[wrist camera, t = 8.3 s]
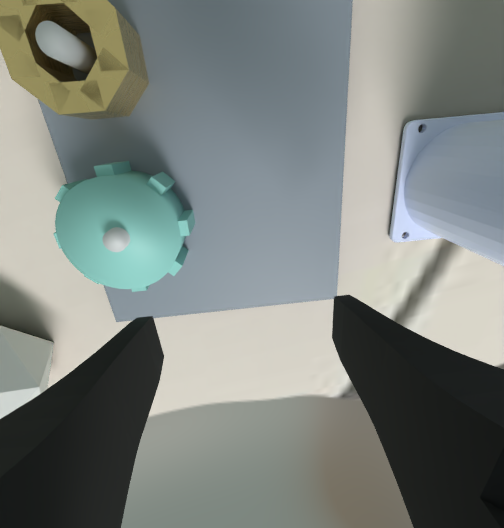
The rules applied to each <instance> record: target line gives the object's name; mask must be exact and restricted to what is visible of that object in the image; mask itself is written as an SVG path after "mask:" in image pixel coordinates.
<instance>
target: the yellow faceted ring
mask: <svg viewBox="0 0 504 528" xmlns="http://www.w3.org/2000/svg"><path fill="white" fill-rule="evenodd" d="M43 21H52V22H54V23H56V24H57V25H59V26H60V27H62V28H64V29H65V30H67V31H68V32H70V33H71V34H73V35H74V36H77V34H78V33H91V35H92V39H93V43H94V46H95V50H96V54H97V60H96V61H95V63H94V65H93V67H92V69H91V71H90V73H89V74H88V76H87V78H86V80H85V81H78V80H76V79H75V77H74V73H73V70H72V67H71V66H69V65H67V64H64V63H62V62H60V61H58V60H56V59H53V58H51V57H49V56H47V55H46V54H45V53H44V52H43V51H42V50H41V49H40V47H39V46H38V43H37V41H36V35H35V33H36V28H37V26H38V25H39V24H40V23H41V22H43ZM0 49H1V52H2V54H3V57H4V60H5V62H6V65H7V68H8V70H9V73H10V76H11V78H12V80H14V81H15V82H16V83H18V84H19V85H20V86H22V87H23V88H24V89H26V90H27V91H28V92H30V93H31V94H32V95H34V96H35V97H36V98H38V99H39V100H40V101H42V102H43V103H44V104H46V105H47V106H48V107H49V108H51V109H52V110H53V111H55V112H56V113H57V114H59V115H65V116H71V117H78V118H85V119H104V118H116V117H128V116H130V114H131V113H132V111H133V109H134V108H135V106H136V104H137V103H138V101H139V100H140V98H141V96H142V95H143V93H144V91H145V90H146V88H147V86H148V85H149V80H148V74H147V69H146V64H145V59H144V54H143V49H142V44H141V39H140V35H139V34H138V33H137V32H136V31H135V30H134V28H133V27H132V26H131V25H130V24H129V23H128V22H127V20H126V19H125V18H124V17H123V16H122V15H121V14H120V13H119V11H118V10H117V9H116V8H115V7H114V6H113V5H112V4H111V3H110V2H109V1H108V0H0Z"/></svg>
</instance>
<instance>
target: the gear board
mask: <svg viewBox="0 0 504 528" xmlns="http://www.w3.org/2000/svg"><path fill="white" fill-rule="evenodd" d="M108 1H109V2H110V3H111V4H112V5H113V6H114V7H115V8H116V9H117V10H118V11H119V13H120V14H121V15H122V16H123V17H124V18H125V19H126V20H127V22H128V23H129V24H130V25H131V26H132V27H133V28H134V30H135V31H136V32H137V33H138V34H139V35H140V39H141V44H142V49H143V54H144V59H145V64H146V69H147V74H148V80H149V85H148V86H147V88H146V90H145V91H144V93H143V95H142V96H141V98H140V100H139V101H138V103H137V104H136V106H135V108H134V109H133V111H132V113H131V114H130V116H128V117H116V118H104V119H85V118H78V117H71V116H65V115H59V114H57V113H56V112H55V111H53V110H52V109H51V108H49V107H48V106H47V105H46V104H44V103H43V102H42V101H40V100H39V99H38V101H39V104H40V106H41V109H42V112H43V115H44V118H45V121H46V123H47V126H48V129H49V132H50V135H51V138H52V140H53V143H54V146H55V149H56V152H57V155H58V157H59V160H60V163H61V166H62V169H63V172H64V174H65V177H66V180H67V183H68V184H65V185H62V187H61V189H60V190H59V192H58V194H57V196H56V197H55V199H56V200H58V201H59V202H60V204H59V206H58V210H57V213H56V220H55V225H56V232H55V233H54V236H55V238H56V241H57V243H58V246H59V248H62V250H63V252H64V254H65V255H66V257H67V258H68V259H69V261H70V262H71V263H72V264H73V265H74V266H75V267H76V268H77V269H78V270H79V271H80V272H81V273H83V274H84V276H85V277H87V278H88V279H90V280H92V281H94V282H95V283H97V284H99V283H100V284H103V285H104V288H105V291H106V294H107V296H108V299H109V302H110V305H111V308H112V311H113V313H114V316H115V319H116V322H121V321H130V320H134V319H136V318H138V317H147V316H153V318H159V317H168V316H177V315H187V314H196V313H205V312H215V311H224V310H233V309H243V308H252V307H262V306H271V305H280V304H290V303H299V302H308V301H318V300H327V299H334V297H335V296H337V284H338V265H339V246H340V227H341V208H342V190H343V171H344V152H345V133H346V114H347V95H348V77H349V58H350V39H351V20H352V1H353V0H108ZM35 35H36V41H37V43H38V46H39V47H40V49H41V50H42V51H43V52H44V53H45V54H46V55H47V56H49V57H51V58H53V59H56V60H58V61H60V62H62V63H64V64H67V65H69V66H71V67H72V70H73V73H74V77H75V79H76V80H78V81H85V80H86V78H87V76H88V74H89V73H90V71H91V69H92V67H93V65H94V63H95V61H96V60H97V54H96V50H95V46H94V43H93V39H92V35H91V33H78V34H77V36H74V35H73V34H71V33H70V32H68V31H67V30H65V29H64V28H62V27H60V26H59V25H57V24H56V23H54V22H52V21H43V22H41V23H40V24H39V25H38V26H37V28H36V33H35Z"/></svg>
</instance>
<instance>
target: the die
mask: <svg viewBox="0 0 504 528" xmlns="http://www.w3.org/2000/svg"><path fill="white" fill-rule="evenodd" d="M53 345H54V342H51V341H48V340H45V339H42V338H38V337H35V336H32V335H29V334H26V333H22V332H19V331H16V330H13V329H10V328H7V327H3V326H0V419H1V418H3V417H4V416H6V415H7V414H9V413H11V412H12V411H14V410H16V409H17V408H19V407H20V406H22V405H24V404H25V403H27V402H29V401H30V400H32V399H33V398H35V397H36V396H38V395H39V394H41V393H42V392H44V391H45V390H47V388H48V381H49V374H50V367H51V360H52V353H53Z"/></svg>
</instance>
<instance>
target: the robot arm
mask: <svg viewBox="0 0 504 528" xmlns="http://www.w3.org/2000/svg"><path fill="white" fill-rule="evenodd" d="M420 125H422V127H423V128H422V131H421V132H420V133H419V131H418V128H419V126H420ZM404 232H406V235H405V236H404V237H402V234H403V233H404ZM435 238H444V239H446V240H448V241H450V242H453V243H455V244H457V245H459V246H461V247H463V248H465V249H468V250H470V251H472V252H474V253H476V254H478V255H481V256H483V257H485V258H487V259H489V260H491V261H493V262H496V263H498V264H500V265H502V266H504V112H498V113H487V114H476V115H465V116H454V117H443V118H432V119H421V120H412V121H409V122H408V123H407V124H406V125H405V126H404V130H403V137H402V144H401V152H400V160H399V167H398V175H397V182H396V190H395V197H394V205H393V213H392V220H391V228H390V239H391V240H392V241H394V242H406V241H416V240H425V239H435ZM332 338H333V341H334V344H335V347H336V350H337V352H338V355H339V358H340V360H341V362H342V364H343V366H344V368H345V370H346V372H347V374H348V376H349V378H350V380H351V381H352V383H353V385H354V387H355V389H356V391H357V393H358V395H359V397H360V398H361V400H362V402H363V404H364V406H365V408H366V410H367V412H368V414H369V416H370V418H371V420H372V422H373V424H374V426H375V429H376V431H377V434H378V436H379V438H380V441H381V443H382V446H383V448H384V451H385V453H386V456H387V458H388V460H389V463H390V466H391V468H392V471H393V473H394V476H395V479H396V481H397V484H398V486H399V489H400V492H401V494H402V497H403V500H404V503H405V505H406V508H407V510H408V513H409V516H410V519H411V522H412V524H413V527H414V528H504V369H500V368H498V367H495V366H492V365H489V364H487V363H484V362H481V361H479V360H476V359H473V358H470V357H468V356H465V355H463V354H460V353H458V352H455V351H453V350H451V349H449V348H446V347H444V346H442V345H440V344H437V343H435V342H433V341H431V340H429V339H427V338H425V337H422V336H421V335H419V334H417V333H415V332H413V331H411V330H409V329H407V328H405V327H403V326H402V325H400V324H398V323H396V322H394V321H393V320H391V319H389V318H388V317H386V316H384V315H382V314H381V313H379V312H377V311H376V310H374V309H373V308H371V307H369V306H368V305H366V304H364V303H363V302H361V301H359V300H358V299H356V298H354V297H352V296H350V295H344V296H335V297H334V311H333V331H332ZM163 359H164V355H163V351H162V348H161V344H160V340H159V337H158V333H157V330H156V326H155V323H154V319H153V316H147V317H138V318H136V319H134V320H133V321H132V322H131V323H129V324H128V325H127V326H126V327H125V328H123V329H122V330H121V331H120V332H119V333H118V334H117V335H115V336H114V337H113V338H112V339H111V340H110V341H108V342H107V343H106V344H105V345H104V346H103V347H101V348H100V349H99V350H98V351H97V352H96V353H94V354H93V355H92V356H91V357H89V358H88V359H87V360H85V361H84V362H83V363H82V364H80V365H79V366H78V367H77V368H75V369H74V370H73V371H72V372H70V373H69V374H68V375H66V376H65V377H64V378H62V379H61V380H60V381H58V382H57V383H55V384H54V385H52V386H51V387H50V388H48V389H47V390H45V391H44V392H42V393H41V394H39V395H38V396H36V397H35V398H33V399H32V400H30V401H29V402H27V403H25V404H24V405H22V406H20V407H19V408H17V409H16V410H14V411H12V412H11V413H9V414H7V415H6V416H4V417H3V418H1V419H0V528H121V523H122V518H123V514H124V509H125V503H126V499H127V494H128V489H129V484H130V480H131V475H132V471H133V466H134V462H135V458H136V453H137V450H138V446H139V443H140V439H141V436H142V433H143V430H144V427H145V424H146V421H147V418H148V415H149V412H150V409H151V406H152V403H153V400H154V396H155V393H156V390H157V387H158V384H159V380H160V375H161V370H162V365H163Z"/></svg>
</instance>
